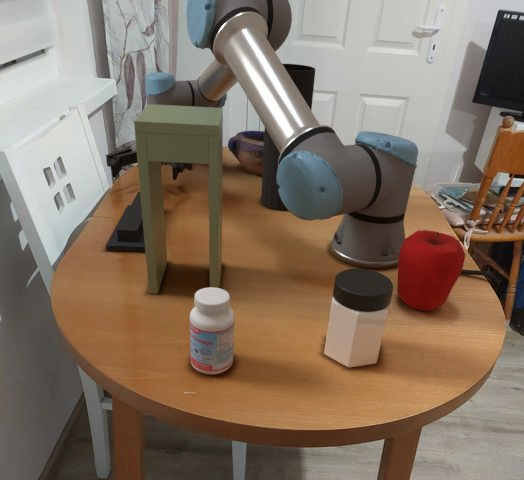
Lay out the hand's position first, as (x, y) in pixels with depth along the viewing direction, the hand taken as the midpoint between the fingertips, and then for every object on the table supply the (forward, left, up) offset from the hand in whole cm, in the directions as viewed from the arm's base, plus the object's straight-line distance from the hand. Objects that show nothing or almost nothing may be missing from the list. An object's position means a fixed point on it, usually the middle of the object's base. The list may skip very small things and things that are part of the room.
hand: (143, 172), depth 117 cm
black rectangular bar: (-5, +9, -7) cm, 13 cm away
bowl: (-8, -43, -8) cm, 44 cm away
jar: (-62, +27, -8) cm, 68 cm away
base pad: (-6, +11, -8) cm, 15 cm away
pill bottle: (-46, +41, -8) cm, 63 cm away
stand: (-28, +23, -8) cm, 37 cm away
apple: (-67, +7, -8) cm, 68 cm away
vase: (-24, -22, -8) cm, 34 cm away
